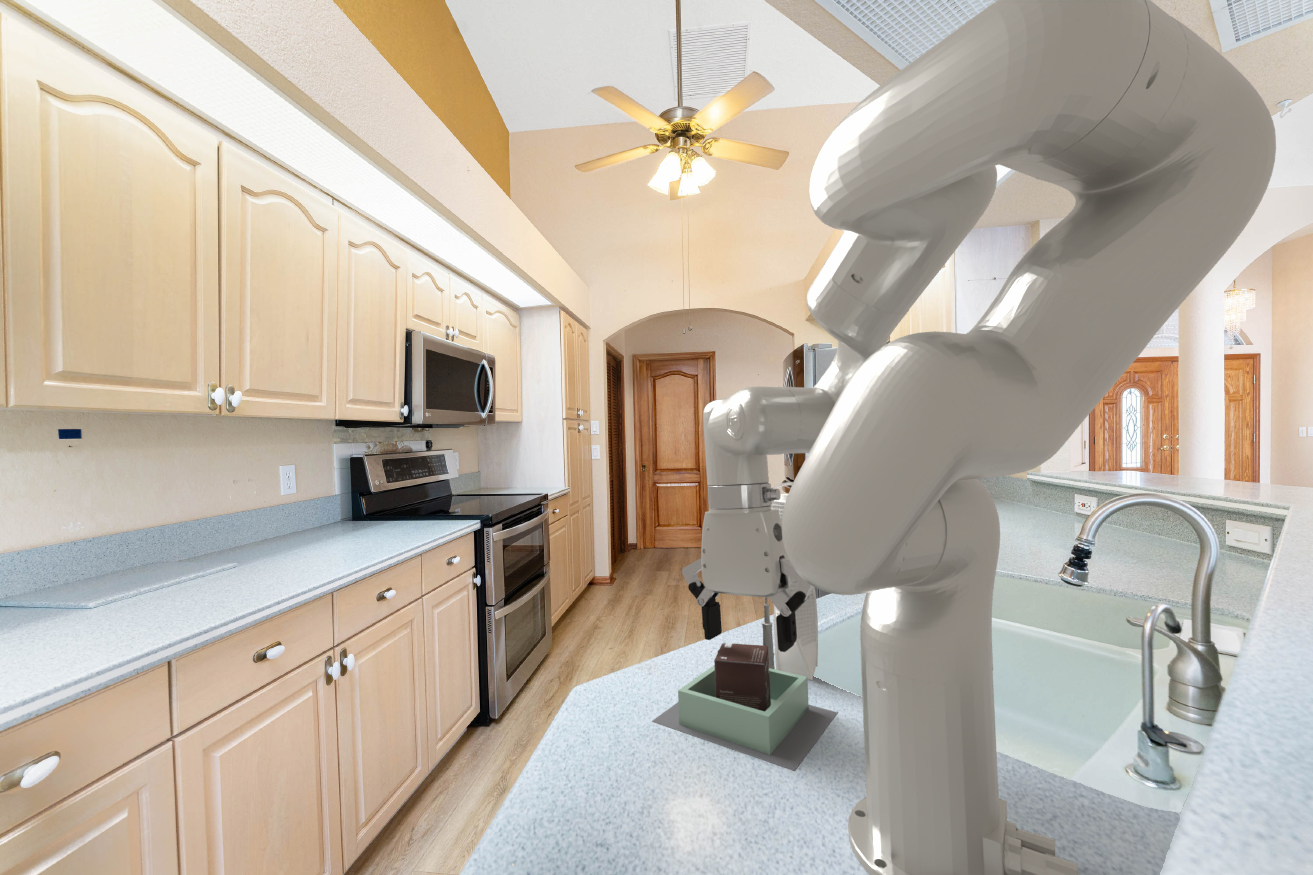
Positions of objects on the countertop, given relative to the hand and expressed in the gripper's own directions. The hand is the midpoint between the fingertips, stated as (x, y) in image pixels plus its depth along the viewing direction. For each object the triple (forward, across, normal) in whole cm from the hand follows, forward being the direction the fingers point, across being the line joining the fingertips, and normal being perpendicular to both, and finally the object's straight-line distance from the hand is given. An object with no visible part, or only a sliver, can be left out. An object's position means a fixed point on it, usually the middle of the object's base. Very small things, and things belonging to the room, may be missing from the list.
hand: (748, 642), depth 63 cm
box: (+9, +2, -1) cm, 9 cm away
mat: (+10, +2, -1) cm, 10 cm away
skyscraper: (+10, +2, -17) cm, 20 cm away
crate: (+9, +2, -1) cm, 9 cm away
